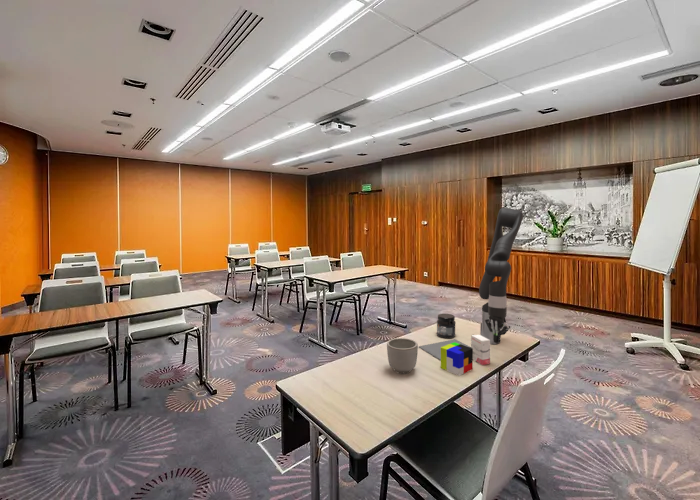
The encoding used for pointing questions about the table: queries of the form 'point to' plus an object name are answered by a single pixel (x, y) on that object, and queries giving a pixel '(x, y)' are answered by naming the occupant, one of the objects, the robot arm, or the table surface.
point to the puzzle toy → (456, 358)
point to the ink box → (480, 349)
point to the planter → (402, 354)
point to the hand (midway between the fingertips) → (497, 342)
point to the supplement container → (446, 326)
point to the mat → (438, 347)
